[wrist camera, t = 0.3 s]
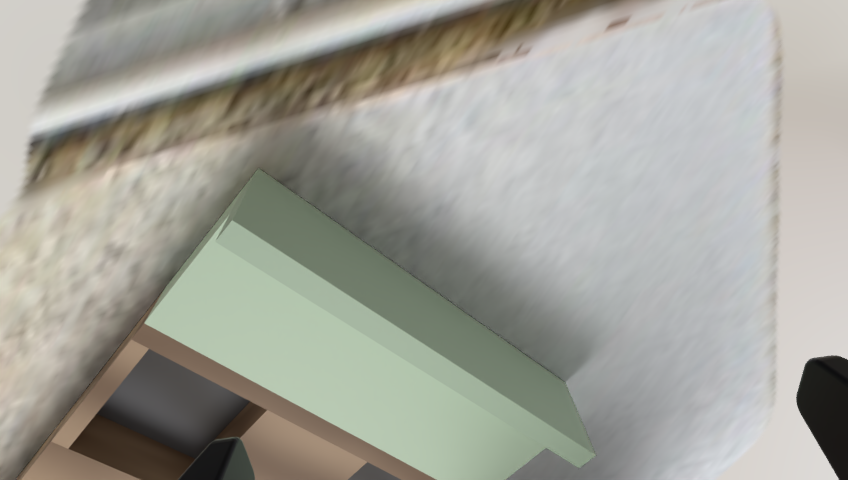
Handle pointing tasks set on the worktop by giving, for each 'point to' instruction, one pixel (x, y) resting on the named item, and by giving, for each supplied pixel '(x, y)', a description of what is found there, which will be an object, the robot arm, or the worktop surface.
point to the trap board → (195, 424)
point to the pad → (363, 343)
